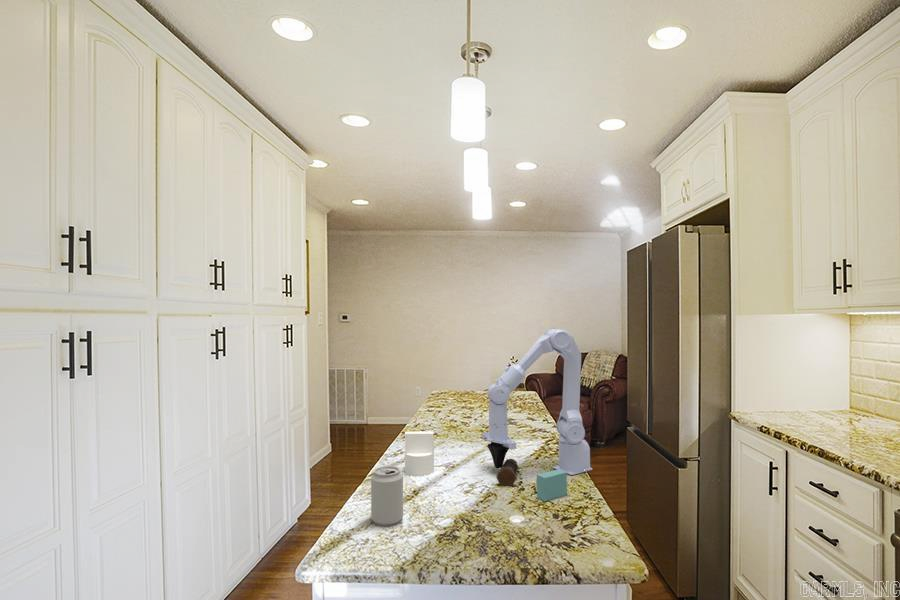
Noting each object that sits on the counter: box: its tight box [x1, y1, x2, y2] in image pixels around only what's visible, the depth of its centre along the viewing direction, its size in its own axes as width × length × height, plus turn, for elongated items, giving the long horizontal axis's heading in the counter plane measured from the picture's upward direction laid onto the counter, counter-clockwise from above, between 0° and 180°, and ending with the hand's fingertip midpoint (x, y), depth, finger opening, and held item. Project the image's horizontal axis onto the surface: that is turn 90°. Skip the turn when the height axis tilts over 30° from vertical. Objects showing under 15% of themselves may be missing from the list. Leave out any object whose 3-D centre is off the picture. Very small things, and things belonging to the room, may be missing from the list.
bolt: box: [495, 458, 519, 487], centre depth 139 cm, size 6×5×15 cm
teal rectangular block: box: [535, 469, 568, 502], centre depth 126 cm, size 8×6×6 cm
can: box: [370, 465, 404, 527], centre depth 111 cm, size 8×8×12 cm
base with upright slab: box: [404, 430, 435, 477], centre depth 145 cm, size 9×9×12 cm
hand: (498, 467), depth 144 cm, fingers closed
